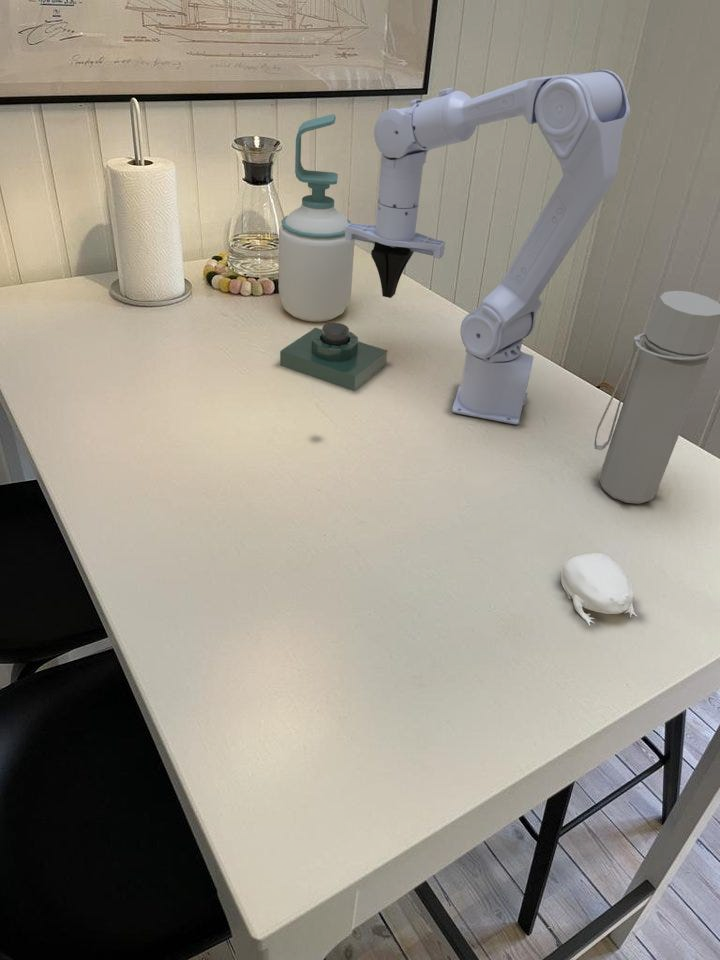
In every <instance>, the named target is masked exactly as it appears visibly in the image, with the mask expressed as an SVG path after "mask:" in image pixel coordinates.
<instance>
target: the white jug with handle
mask: <svg viewBox="0 0 720 960" xmlns="http://www.w3.org/2000/svg"><path fill="white" fill-rule="evenodd" d="M336 118H337V117H336V114H333V113H332V114H328V115H324V116H320V117H316V118H312V119H308V120H306V121H304V122H302V123H301V124H300V125H299V127H298V131H297V134H296V136H295V153H294V154H295V158H294V161H295V163H294V164H295V166H294V174H295V178H296V179H297V180H298V181H299V182H302V183H306V184H307V187H308V188H309V189H311V194H309V195H305V196H303V197H301V205H300V206H299V207H298V208H295V209H294V210H292V211H291V212H289V214H288V215H285V217H284V218H282V219H281V222H280V223H281V225H280V226H279V229H278V293H279V299H280V302H281V305H282V307H283V309H284V310H285V312H287V313H288V314H289V315H291V316H293V317H294V318H296V319H298V320H300V321H304V322H305V321H306V322H311V323H323V322H329V321H332V320H334V319H336V318H337V317H339V316H340V315H342V314H344V312H345V310H346V308H347V306H348V304H349V302H350V300H351V296H352V287H353V286H352V284H353V273H354V270H353V269H354V256H355V242H356V240H354V239H353V240H346V239H345V226H347V225H348V224H349V223H352V222H351V220H350V219H348V218H347V217H346V215H344V214H343V213H342V212H341V211H339V210H337V209H336V208H335V199H334V198H332V197H331V196H327V195H326V190H329V189H330V187H331V186H333V185H337V184H338V177H339V174H338V173H337V172H332V171H323V170H321V171H320V170H308V169H305V168H304V167H303V164H302V160H301V159H302V135H304V134H305V133H307V132H311V131H314V130H319V129H322V128H326V127H329V126H332V125H334V124H336Z"/></svg>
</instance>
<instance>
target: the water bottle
mask: <svg viewBox="0 0 720 960" xmlns="http://www.w3.org/2000/svg"><path fill="white" fill-rule="evenodd" d="M719 328H720V303H719V302H718V301H717V300H715V299H713V298H711V297H708V296H707V295H703V294H701V293H696V292H693V291H685V290H684V291H683V290H671V291H665V292H663V293H662V294H661V295H660V296H659V298H658V300H657V303H656V306H655V307H654V310H653V312H652V313H651V317H650V319H649V321H648V324H647V326H646V328H645V330H644V332H643V333H639V334H637V335H634V338H633V339H634V340H633V348H632V352H631V354H630V356H629V358H628V361H627V363H626V365H625V367H624V369H623V370H622V374H621V375H620V377H619V380H618V382H617V384H616V386H615V389H614V391H613V393H612V394H611V397H610V399H609V401H608V403H607V405H606V408H605V410H604V412H603V414H602V417H601V419H600V421H599V422H598V425H597V427H596V432H595V437H594V443H593V445H594V450H597V451H603V450H604V449H606V448H607V446H608V445H609V446H608V449H607V452H606V455H605V458H604V461H603V464H602V467H601V470H600V473H599V475H598V479H599V482H600V486H601V488H602V490H603V491H604V492H605V493H607V494H608V495H609V496H610V497H612V499H616V500H618V501H620V502H623V503H627V504H638V505H640V504H644V503H646V502H650V501H652V500H653V499H654V497H655V496H656V494H657V493H658V490H659V488H660V485H661V482H662V480H663V477H664V475H665V473H666V470H667V468H668V465H669V462H670V459H671V457H672V454H673V451H674V449H675V447H676V444H677V441H678V439H679V436H680V434H681V431H682V428H683V426H684V423H685V421H686V418H687V416H688V413H689V410H690V408H691V406H692V403H693V401H694V398H695V395H696V393H697V390H698V387H699V386H700V382H701V380H702V377H703V374H704V372H705V370H706V367H707V364H708V362H709V359H710V356H711V354H712V353H713V351H714V349H715V342H716V339H717V334H718V330H719ZM641 338H643V340H644V341H643V342H642V344H640V341H641ZM638 350H640V351H639V354H638V357H637V360H636V363H635V366H634V368H633V372H632V374H631V378H630V381H629V384H628V386H627V383H628V378H629V375H630V371H631V367H632V364H633V361H634V358H635V357H634V356H635V354H636V352H637V351H638ZM628 366H629V367H628ZM627 369H628V370H627ZM626 370H627V374H626V377H625V381H624V384H623V387H622V391H621V394H620V397H619V401H618V404H617V407H616V411H615V413H614V414H615V415H614V417H613V421H612V425H611V427H610V428H611V429H610V431H609V435H608V439H607V440H606V442H605V443H603V444H602V445H600V444H599V445H598V444H597V438H598V433H599V430H600V428H601V426H602V423H603V421H604V419H605V416H606V414H607V412H608V410H609V408H610V406H611V404H612V401H613V399H614V397H615V395H616V393H617V390H618V388H619V386H620V384H621V382H622V379H623V377H624V375H625V372H626ZM626 386H627V391H626V394H625V396H624V393H625V389H626ZM623 396H624V399H623ZM622 400H623V403H622ZM621 403H622V406H621ZM620 407H621V409H620ZM618 413H619V414H618ZM616 421H617V422H616Z"/></svg>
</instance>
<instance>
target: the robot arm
mask: <svg viewBox="0 0 720 960" xmlns="http://www.w3.org/2000/svg"><path fill="white" fill-rule="evenodd" d="M631 112H632V110H631V105H630V102H629V98H628V94H627V91H626V87H625V84H624V82H623V80H622V78H621V77H620V76H619V75H618V74H617V73H615V72H614V71H611V70H610V69H596V70H592V71H590V72H586V73H584V72H576V73H567V74H557V75H549V76H548V75H547V76H540V77H533V78H527V79H524V80H521V81H518V82H516V83H513V84H510V85H507V86H503V87H500V88H498V89H494V90H493V91H490V92H486V93H484V94H480V95H477V96H475V97H471V96H470V95H469V94H467V92H464V91H462V90H455V88H453V87H448V88H447V87H446V88H444V89H440V90H439V91H438V96H436V97H432V98H429V99H426V100H422V99H421V98H416V99H413V100H411V101H410V102H409V106H408V107H402V108H401V107H400V108H394V107H393V108H392V107H391V108H388V109H386V111H383V112H382V113H381V114H380V115H379V116H378V118H377V119H376V122H375V124H374V128H373V132H374V133H373V135H374V142H375V145H376V147H377V149H378V151H379V152H380V153H381V154H380V155H381V157H380V168H379V179H378V192H377V203H376V217H375V224H365V223H364V224H362V223H356V222H351V223H349V224H348V225H347V226H345V239H346V240H353V239H354V240H355V241H359V242H364V243H368V244H373V245H374V246H373V249H371V251H370V254H371V258H372V261H373V262H374V266H375V267H376V270H377V273H378V276H379V281H380V288H381V295H382V297H384V298H388V299H392V298H393V297H394V296H395V295H396V292H397V288H398V285H399V282H400V279H401V277H402V274H403V272H404V270H405V268H406V266H407V265H408V263H409V261H410V260H411V258H412V256H413V255H414V253H418V254H422V255H428V256H432V258H433V259H438V260H440V259H442V258H443V256H444V254H445V248H446V241H444V240H440V239H436V238H433V237H431V236H427V235H424V234H421V233H419V232H416V230H417V221H418V220H417V219H418V212H419V202H420V194H421V186H422V177H423V168H424V164H426V161H427V155H428V152H429V151H430V150H435V149H439V148H443V147H446V146H450V145H454V144H458V143H462V142H466V141H468V140H470V139H471V137H472V136H473V135H474V134H475V131H476V129H477V127H478V126H482V125H486V124H490V123H495V122H498V121H503V120H507V119H512V118H516V117H521V116H522V117H523V118H524V119H525V120H526V122H527V123H528V124H530V125H534V124H537V126H538V129H539V130H540V132H541V134H542V136H543V137H544V139H545V141H546V143H547V144H548V146H549V148H550V149H551V151H552V153H553V154H554V156H555V158H556V159H557V161H558V164H560V167H561V172H562V177H561V179H560V181H559V182H558V184H557V186H556V187H555V189H554V191H553V193H552V194H551V196H550V197H549V199H548V201H547V203H546V205H545V206H544V208H543V209H542V211H541V213H540V215H539V216H538V218H537V220H536V221H535V223H534V224H533V226H532V228H531V229H530V232H529V234H528V235H527V236H526V238H525V240H524V242H523V243H522V245H521V247H520V248H519V250H518V252H517V254H516V256H515V257H514V259H513V260H512V262H511V264H510V265H509V267H508V269H507V271H506V272H505V274H504V275H503V277H502V279H501V280H500V283H498V285H497V286H496V287H495V288H494V289H492V290H491V291H490V292H489V293H488V294H487V295H486V296H485V297H484V298H483V299H482V300H481V302H480V303H479V305H478V307H477V308H476V309H474V310H473V311H471V312H469V313H468V314H466V316H465V317H464V318H463V319H462V321H461V324H460V327H459V329H460V332H459V333H460V339H461V341H462V344H463V346H464V348H465V359H464V365H463V370H462V376H461V381H460V384H459V385H458V388H457V392H456V395H455V399H454V401H453V405H452V408H451V412H452V413H454V414H458V415H463V416H468V417H474V418H479V419H483V420H484V419H485V420H489V421H495V422H500V423H505V424H509V425H515V426H517V425H519V424H520V419H521V415H522V411H523V407H524V406H525V405H526V402H527V399H528V392H527V389H528V386H529V381H530V376H531V372H532V366H533V362H534V356H533V355H532V354H529V353H525V352H523V351H521V350H522V346H523V345H522V344H523V342H524V341H523V340H524V339H526V338H527V337H528V336H530V335H531V334H532V332H533V331H534V328H535V325H536V319H537V318H536V317H537V313H538V311H539V310H540V308H541V306H542V305H543V304H542V300H541V298H540V296H541V294H542V293H543V292H544V290H545V288H546V287H547V285H548V284H549V282H550V281H551V279H552V278H553V276H554V275H555V273H556V271H557V270H558V268H559V267H560V266H561V264H562V263H563V261H564V260H565V258H566V256H567V254H568V253H569V251H570V250H571V248H572V247H573V245H574V244H575V242H576V241H577V240H578V237H579V236H580V235H581V233H582V232H583V230H584V228H585V227H586V225H587V223H588V222H589V221H590V219H591V218H592V216H593V215H594V213H595V211H596V210H597V209H598V208H599V205H600V204H601V202H602V201H603V199H604V197H605V196H606V195H607V193H608V192H609V190H610V188H611V187H612V186H613V184H614V182H615V180H616V177H617V175H618V170H619V162H620V156H621V150H622V141H623V135H624V134H623V133H624V128H625V126H626V124H627V122H628V119H629V117H630V115H631Z"/></svg>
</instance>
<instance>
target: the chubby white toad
mask: <svg viewBox="0 0 720 960" xmlns="http://www.w3.org/2000/svg"><path fill="white" fill-rule="evenodd" d="M560 582H561V585H562V588H563V589H564V591H565V593H566V594H567V597H568V599H569V600H571V599H572V603H573V607H574V610H575V611H576V613H578V614H579V616H581V618H582V619H583V620H584V621H585V622H586V623H587V625H588V626H591V624H596V623H595V622H594V621H593V620H596V618H594V617H592V616H591V613H590V612H589V613H586V612H584V608H585V609H587V610H589V611H594V612H596V613H599V614H607V615H617V614H627V613H629V617H630V618H631V617H632V615H633V616H634V617H636V618H637V617H638V615H637V614H636V612H635V609H634V608H635V607H634V605H633V602H634V597H635V594H634V586H633V583H632V581H631V579H630V578H629V576H628V575H627V574H626V573H625V572H624V570H623V569H622V567H621V566H620V565H619V564H618V563H617V562H615V561H614V560H613V558H611V557H609V556H608V555H606V554H603V553H600V552H591V553H583V554H578V555H575V556H573V557H570V558H569V559H567V560H566V562H565V563H564V565H563V567H562V570H561V571H560Z"/></svg>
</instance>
